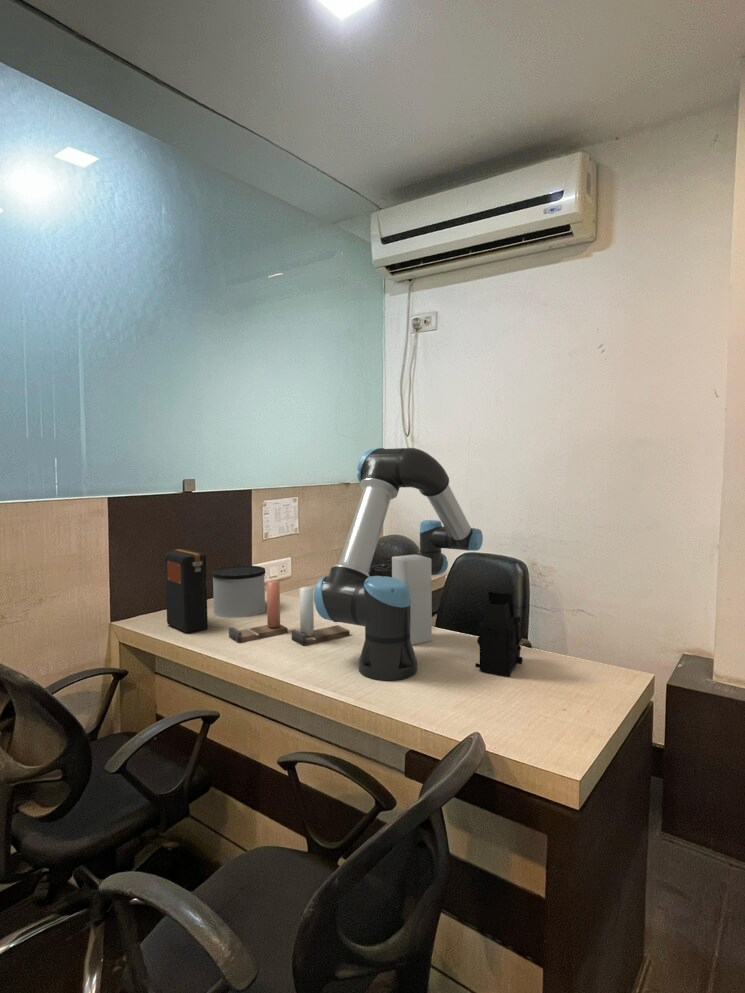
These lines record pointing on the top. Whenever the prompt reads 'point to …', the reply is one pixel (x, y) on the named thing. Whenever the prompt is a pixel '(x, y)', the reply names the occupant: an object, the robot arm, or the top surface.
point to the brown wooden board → (319, 635)
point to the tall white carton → (417, 593)
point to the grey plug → (306, 611)
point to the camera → (499, 635)
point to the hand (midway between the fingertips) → (352, 575)
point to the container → (238, 591)
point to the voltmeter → (186, 590)
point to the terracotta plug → (273, 603)
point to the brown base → (255, 633)
